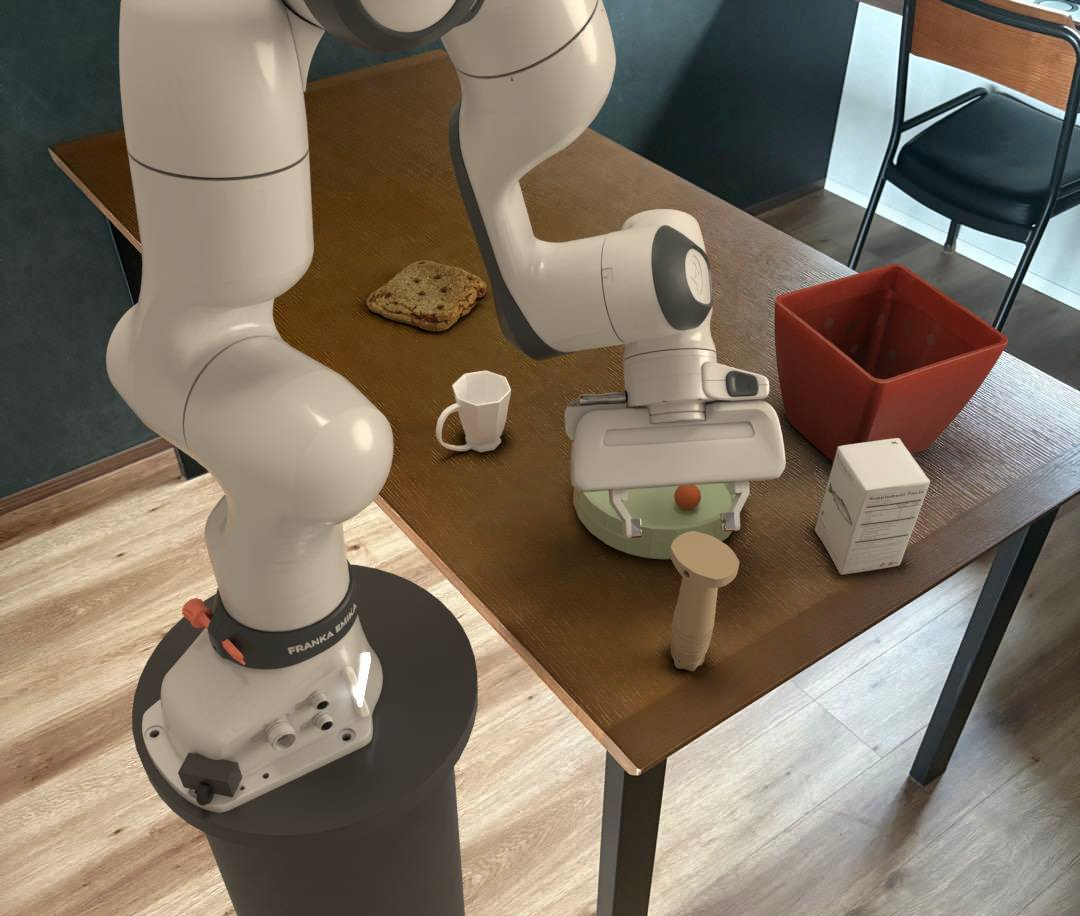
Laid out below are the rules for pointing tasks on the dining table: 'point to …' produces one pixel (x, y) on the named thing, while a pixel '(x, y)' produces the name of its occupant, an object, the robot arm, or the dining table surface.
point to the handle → (698, 594)
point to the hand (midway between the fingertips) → (681, 534)
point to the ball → (687, 497)
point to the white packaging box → (871, 505)
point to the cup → (478, 410)
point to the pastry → (427, 295)
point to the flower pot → (878, 359)
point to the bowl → (653, 517)
